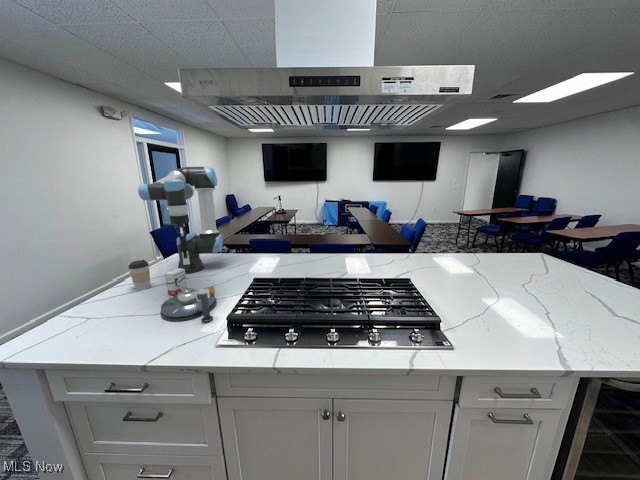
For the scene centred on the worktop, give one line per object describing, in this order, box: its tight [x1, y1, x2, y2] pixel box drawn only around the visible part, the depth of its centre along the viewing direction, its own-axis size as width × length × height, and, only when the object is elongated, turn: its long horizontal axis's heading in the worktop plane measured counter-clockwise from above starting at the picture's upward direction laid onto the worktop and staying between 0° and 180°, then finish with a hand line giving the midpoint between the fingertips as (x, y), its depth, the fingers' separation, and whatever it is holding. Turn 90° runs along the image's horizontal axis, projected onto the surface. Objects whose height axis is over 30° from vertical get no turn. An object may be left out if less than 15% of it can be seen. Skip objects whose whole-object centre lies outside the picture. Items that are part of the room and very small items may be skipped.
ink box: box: [164, 267, 189, 296], centre depth 130 cm, size 9×5×12 cm, turn 167°
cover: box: [178, 288, 198, 305], centre depth 114 cm, size 8×8×6 cm
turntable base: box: [160, 297, 218, 323], centre depth 115 cm, size 23×23×1 cm
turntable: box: [160, 285, 216, 318], centre depth 114 cm, size 22×22×6 cm
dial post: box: [196, 288, 214, 324], centre depth 104 cm, size 5×5×13 cm
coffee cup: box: [128, 259, 151, 291], centre depth 135 cm, size 9×9×15 cm
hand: (186, 264), depth 118 cm, fingers closed
